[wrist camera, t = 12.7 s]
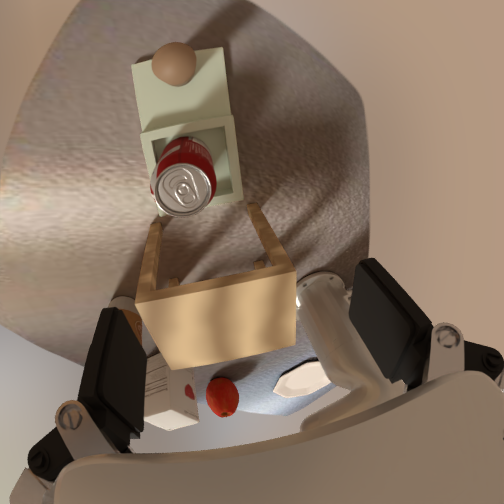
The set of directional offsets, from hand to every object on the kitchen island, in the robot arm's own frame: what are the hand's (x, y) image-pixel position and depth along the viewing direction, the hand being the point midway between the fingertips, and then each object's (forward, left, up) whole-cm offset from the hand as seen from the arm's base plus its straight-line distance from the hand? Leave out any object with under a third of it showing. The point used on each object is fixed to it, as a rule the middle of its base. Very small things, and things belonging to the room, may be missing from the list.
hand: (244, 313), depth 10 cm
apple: (+8, +55, -30) cm, 63 cm away
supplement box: (+18, +43, -30) cm, 55 cm away
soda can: (+2, +1, -30) cm, 30 cm away
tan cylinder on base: (+2, -3, -29) cm, 30 cm away
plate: (-16, +65, -30) cm, 74 cm away
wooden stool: (+2, +15, -29) cm, 33 cm away
